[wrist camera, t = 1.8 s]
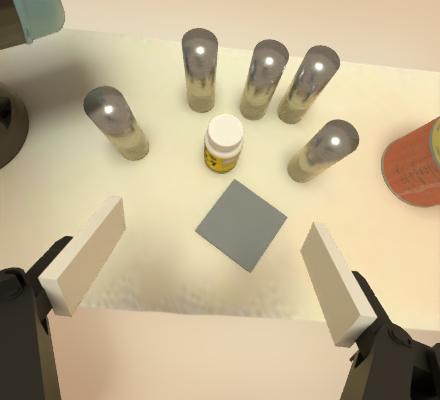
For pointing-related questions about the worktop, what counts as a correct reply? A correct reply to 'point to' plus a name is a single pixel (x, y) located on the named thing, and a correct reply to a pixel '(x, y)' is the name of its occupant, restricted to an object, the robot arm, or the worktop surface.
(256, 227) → the mat
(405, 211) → the worktop surface
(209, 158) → the supplement bottle
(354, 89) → the worktop surface
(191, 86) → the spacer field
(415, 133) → the canned food
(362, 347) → the robot arm
